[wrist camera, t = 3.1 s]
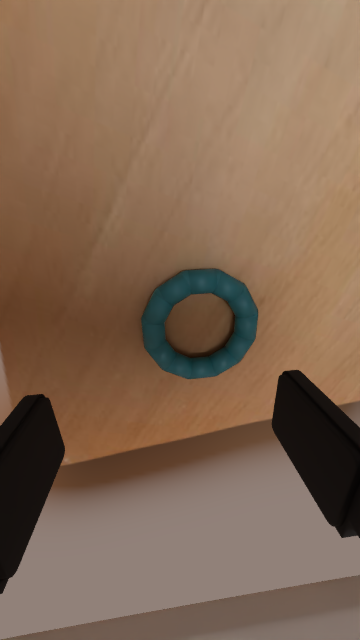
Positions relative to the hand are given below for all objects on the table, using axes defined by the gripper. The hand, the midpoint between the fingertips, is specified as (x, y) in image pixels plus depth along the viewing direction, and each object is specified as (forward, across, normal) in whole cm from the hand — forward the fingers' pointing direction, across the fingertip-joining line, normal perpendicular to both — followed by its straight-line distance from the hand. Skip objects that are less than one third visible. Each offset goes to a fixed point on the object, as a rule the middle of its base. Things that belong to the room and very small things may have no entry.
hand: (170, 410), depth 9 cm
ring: (+7, -3, 0) cm, 8 cm away
